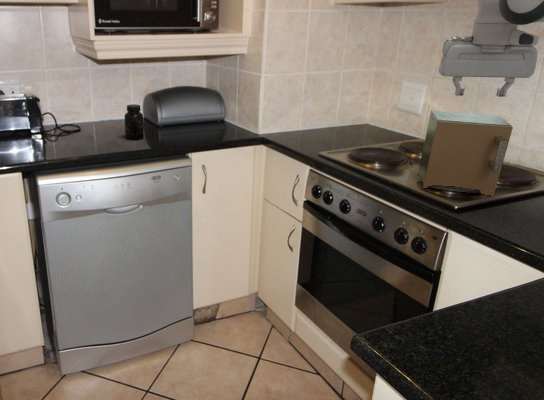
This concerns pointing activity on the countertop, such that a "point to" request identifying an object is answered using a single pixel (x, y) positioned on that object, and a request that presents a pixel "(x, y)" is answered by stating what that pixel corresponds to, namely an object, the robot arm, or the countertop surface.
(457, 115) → the valve cabinet
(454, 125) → the door
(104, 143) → the countertop surface
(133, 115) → the supplement bottle
